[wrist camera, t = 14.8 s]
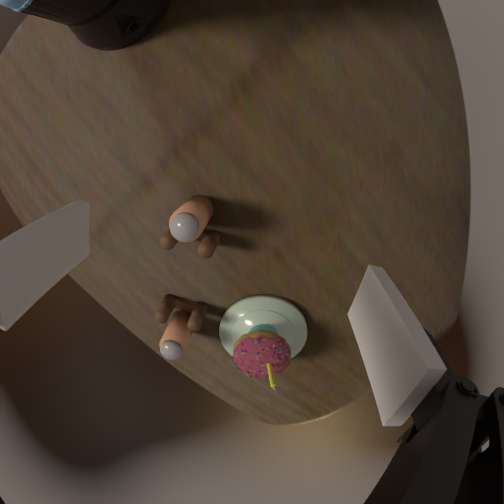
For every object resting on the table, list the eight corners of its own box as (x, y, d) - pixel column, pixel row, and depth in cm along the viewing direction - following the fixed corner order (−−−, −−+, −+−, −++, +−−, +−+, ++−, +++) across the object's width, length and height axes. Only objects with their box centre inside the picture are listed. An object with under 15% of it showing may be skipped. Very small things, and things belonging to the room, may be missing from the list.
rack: (164, 303, 46) (154, 321, 42) (172, 221, 41) (160, 233, 36) (206, 313, 46) (199, 332, 42) (221, 231, 41) (214, 245, 36)
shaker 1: (183, 219, 40) (164, 240, 33) (187, 192, 39) (168, 207, 32) (211, 226, 41) (197, 248, 33) (216, 198, 39) (203, 215, 32)
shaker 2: (171, 326, 48) (157, 357, 41) (173, 307, 46) (157, 338, 39) (194, 332, 48) (183, 364, 41) (196, 313, 47) (185, 346, 39)
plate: (214, 352, 50) (213, 357, 48) (228, 285, 44) (227, 290, 43) (292, 367, 50) (292, 372, 49) (318, 304, 44) (319, 309, 43)
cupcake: (277, 306, 43) (278, 364, 32) (298, 346, 46) (303, 403, 35) (226, 325, 45) (214, 381, 34) (250, 361, 48) (245, 417, 37)
